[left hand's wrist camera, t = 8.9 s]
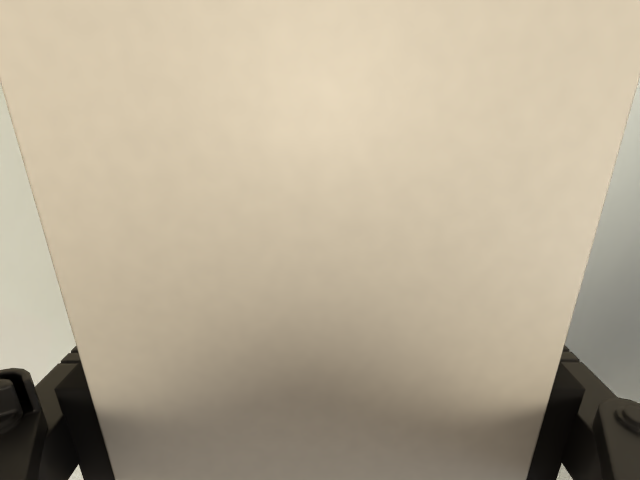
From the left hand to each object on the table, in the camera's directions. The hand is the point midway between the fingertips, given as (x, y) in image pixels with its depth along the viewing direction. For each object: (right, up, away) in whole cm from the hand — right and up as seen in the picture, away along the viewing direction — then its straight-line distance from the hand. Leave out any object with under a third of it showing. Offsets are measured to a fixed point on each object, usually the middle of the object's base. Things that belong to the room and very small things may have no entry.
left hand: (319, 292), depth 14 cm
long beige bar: (0, +25, -8) cm, 27 cm away
